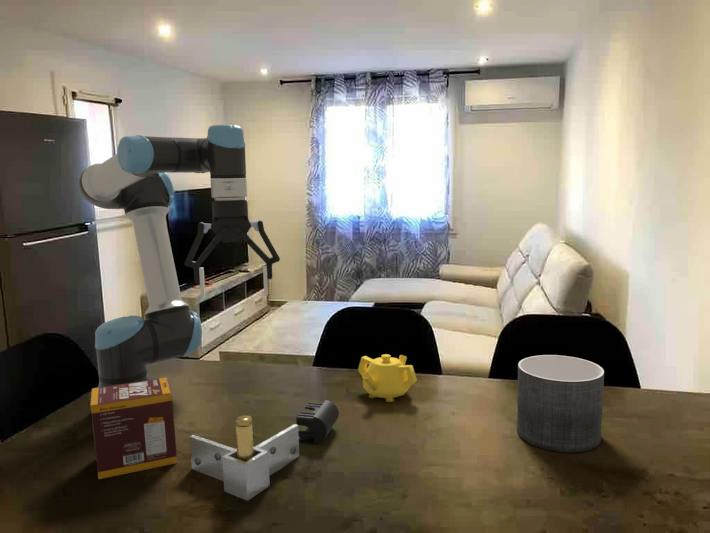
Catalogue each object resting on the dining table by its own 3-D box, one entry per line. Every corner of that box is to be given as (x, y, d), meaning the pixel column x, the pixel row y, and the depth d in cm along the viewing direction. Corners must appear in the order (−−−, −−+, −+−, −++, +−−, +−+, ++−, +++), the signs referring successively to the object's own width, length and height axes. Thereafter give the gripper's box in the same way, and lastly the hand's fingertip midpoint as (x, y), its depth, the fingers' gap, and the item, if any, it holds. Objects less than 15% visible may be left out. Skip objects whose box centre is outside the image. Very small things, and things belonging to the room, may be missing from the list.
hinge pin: (238, 493, 105) (235, 422, 103) (239, 485, 108) (235, 416, 106) (255, 491, 105) (251, 421, 103) (254, 483, 108) (251, 414, 106)
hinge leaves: (181, 474, 112) (179, 441, 111) (246, 439, 127) (244, 409, 126) (247, 500, 103) (245, 464, 101) (308, 459, 117) (307, 427, 116)
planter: (613, 432, 126) (616, 365, 124) (582, 462, 114) (585, 388, 111) (537, 412, 139) (539, 350, 136) (502, 436, 126) (503, 369, 123)
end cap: (327, 447, 123) (326, 418, 122) (296, 444, 124) (295, 415, 123) (339, 428, 132) (338, 400, 131) (310, 425, 134) (309, 398, 133)
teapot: (379, 378, 165) (378, 341, 163) (433, 390, 154) (433, 351, 153) (337, 400, 149) (336, 359, 147) (395, 415, 138) (394, 371, 137)
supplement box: (97, 457, 120) (91, 387, 118) (172, 442, 126) (167, 376, 124) (96, 480, 111) (89, 405, 109) (177, 463, 117) (172, 391, 115)
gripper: (166, 201, 115) (174, 302, 118) (289, 197, 120) (293, 295, 123) (171, 200, 122) (178, 295, 125) (286, 197, 127) (290, 289, 130)
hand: (235, 296), depth 124 cm, fingers open, 13 cm apart
